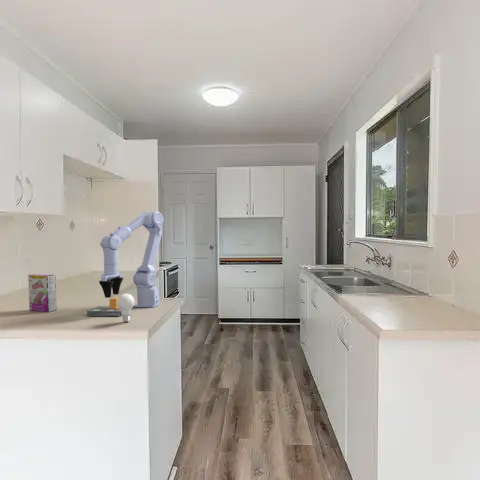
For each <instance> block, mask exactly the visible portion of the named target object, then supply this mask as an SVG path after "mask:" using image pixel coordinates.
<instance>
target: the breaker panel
mask: <svg viewBox="0 0 480 480" xmlns="http://www.w3.org/2000/svg"><path fill="white" fill-rule="evenodd" d="M91 313H93V314H120V316H119V317H123V314H122V312H121V309H120V308H118V309H110V305H108V306H107V305H97V306H96V307H93V308H91V309H89V310H86V316H88V317H89V316H90V314H91ZM90 317H91V316H90Z"/></svg>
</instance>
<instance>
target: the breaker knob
mask: <svg viewBox="0 0 480 480" xmlns="http://www.w3.org/2000/svg"><path fill="white" fill-rule="evenodd" d="M119 297H120V296H119ZM119 297H118V296H117V297H114V296H113V297H110V298H109V306H110V309H118V308H119V307H118V304H117V301H118V298H119Z"/></svg>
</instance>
